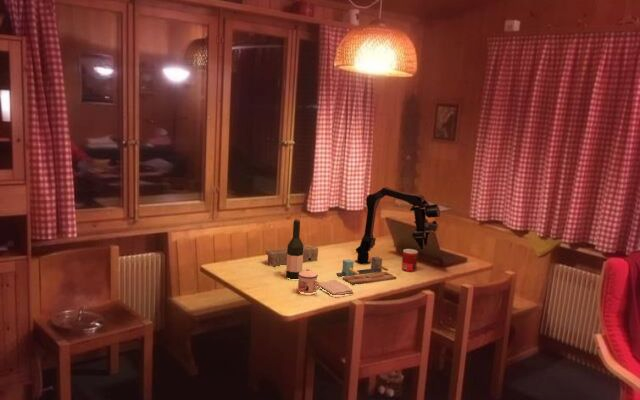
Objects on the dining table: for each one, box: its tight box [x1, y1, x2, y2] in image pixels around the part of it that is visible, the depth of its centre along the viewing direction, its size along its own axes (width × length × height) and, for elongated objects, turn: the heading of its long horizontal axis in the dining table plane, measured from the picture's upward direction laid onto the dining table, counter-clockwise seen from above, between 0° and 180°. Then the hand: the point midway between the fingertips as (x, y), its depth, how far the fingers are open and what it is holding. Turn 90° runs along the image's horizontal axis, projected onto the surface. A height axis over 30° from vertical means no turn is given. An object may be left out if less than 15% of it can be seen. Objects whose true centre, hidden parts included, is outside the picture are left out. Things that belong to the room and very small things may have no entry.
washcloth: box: [317, 279, 354, 295], centre depth 272 cm, size 12×18×3 cm, turn 33°
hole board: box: [342, 271, 397, 286], centre depth 291 cm, size 9×27×1 cm, turn 119°
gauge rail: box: [335, 256, 389, 278], centre depth 295 cm, size 12×27×8 cm, turn 119°
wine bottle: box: [285, 218, 305, 279], centre depth 284 cm, size 8×8×30 cm
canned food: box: [401, 248, 419, 273], centre depth 309 cm, size 8×8×11 cm
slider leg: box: [341, 258, 359, 277], centre depth 291 cm, size 12×4×8 cm, turn 29°
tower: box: [265, 244, 319, 267], centre depth 311 cm, size 8×8×29 cm
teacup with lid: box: [297, 267, 321, 293], centre depth 265 cm, size 12×9×12 cm
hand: (424, 247), depth 300 cm, fingers open, 9 cm apart
